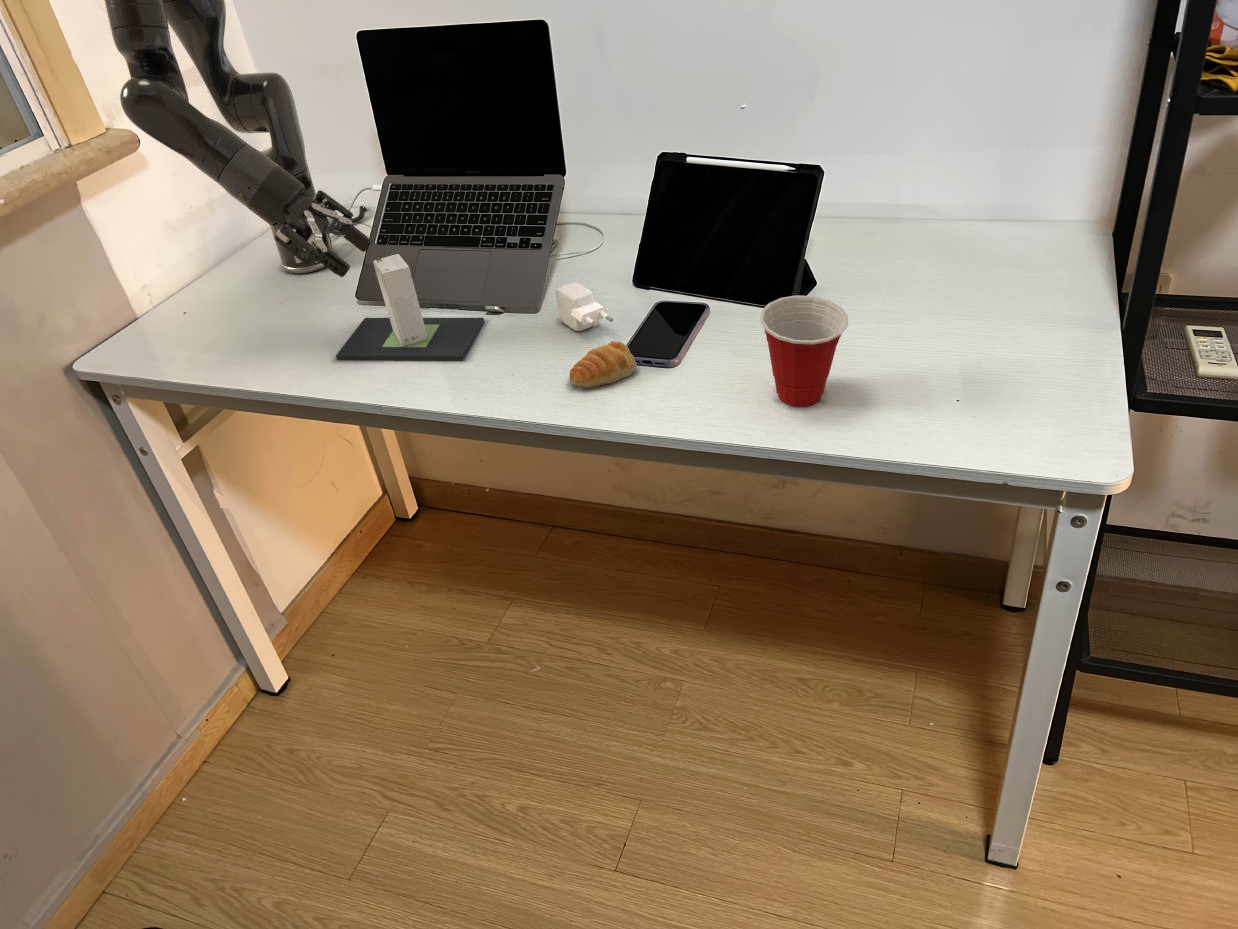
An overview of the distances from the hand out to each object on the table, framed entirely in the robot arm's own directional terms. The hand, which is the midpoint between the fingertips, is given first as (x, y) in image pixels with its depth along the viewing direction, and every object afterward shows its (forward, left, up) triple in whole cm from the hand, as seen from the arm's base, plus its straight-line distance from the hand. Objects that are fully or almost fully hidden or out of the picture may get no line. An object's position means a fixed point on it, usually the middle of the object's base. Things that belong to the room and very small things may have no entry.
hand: (358, 259), depth 135 cm
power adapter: (-3, +32, -14) cm, 35 cm away
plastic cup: (+15, +64, -14) cm, 67 cm away
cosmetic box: (0, +5, -13) cm, 14 cm away
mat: (0, +5, -13) cm, 15 cm away
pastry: (+10, +37, -14) cm, 41 cm away
